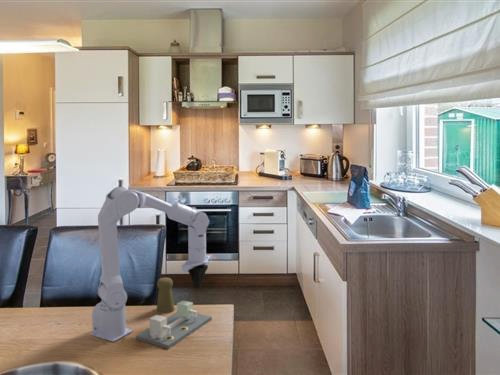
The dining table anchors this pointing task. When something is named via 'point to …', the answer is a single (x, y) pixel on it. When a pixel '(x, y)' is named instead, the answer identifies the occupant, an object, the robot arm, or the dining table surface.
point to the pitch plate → (171, 329)
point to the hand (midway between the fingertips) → (197, 286)
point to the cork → (165, 296)
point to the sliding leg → (185, 309)
